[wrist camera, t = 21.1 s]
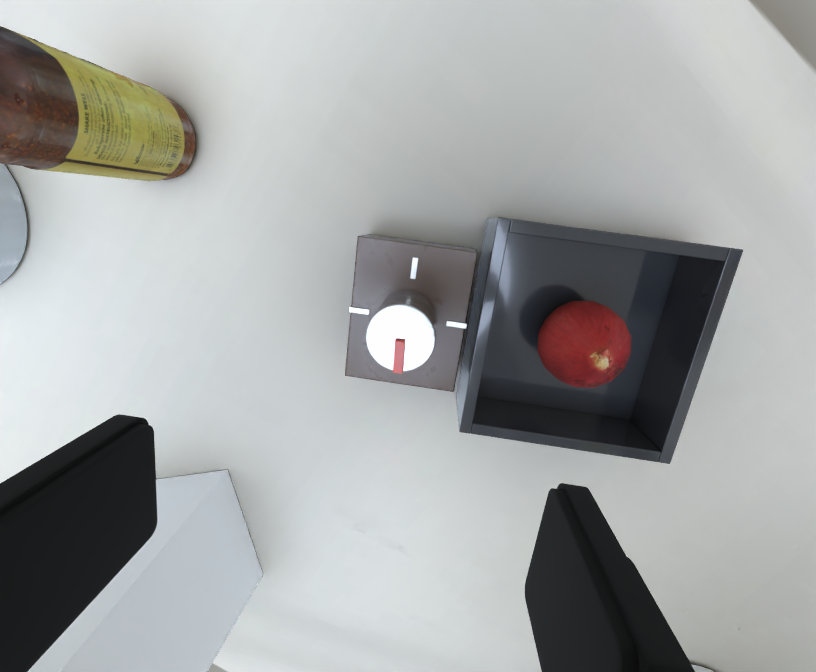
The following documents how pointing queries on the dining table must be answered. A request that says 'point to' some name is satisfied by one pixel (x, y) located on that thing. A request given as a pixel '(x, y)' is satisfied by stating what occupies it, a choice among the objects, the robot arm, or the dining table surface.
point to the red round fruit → (584, 344)
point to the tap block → (419, 270)
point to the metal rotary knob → (402, 331)
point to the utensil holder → (11, 224)
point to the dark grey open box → (605, 284)
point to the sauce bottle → (85, 117)
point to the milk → (169, 588)
